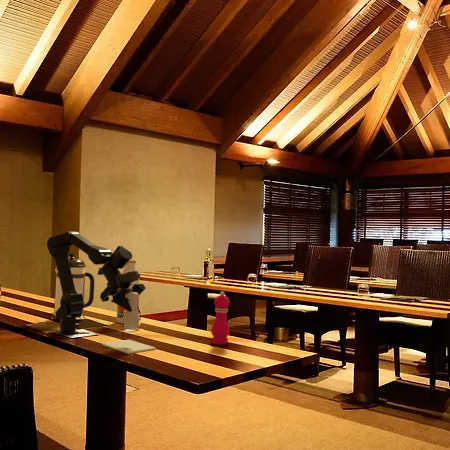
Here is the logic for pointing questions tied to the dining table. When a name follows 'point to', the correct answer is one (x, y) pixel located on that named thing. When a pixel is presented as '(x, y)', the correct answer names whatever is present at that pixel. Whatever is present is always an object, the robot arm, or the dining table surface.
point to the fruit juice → (129, 268)
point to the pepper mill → (220, 320)
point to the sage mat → (128, 346)
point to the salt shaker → (132, 312)
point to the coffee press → (75, 282)
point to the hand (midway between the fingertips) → (134, 310)
